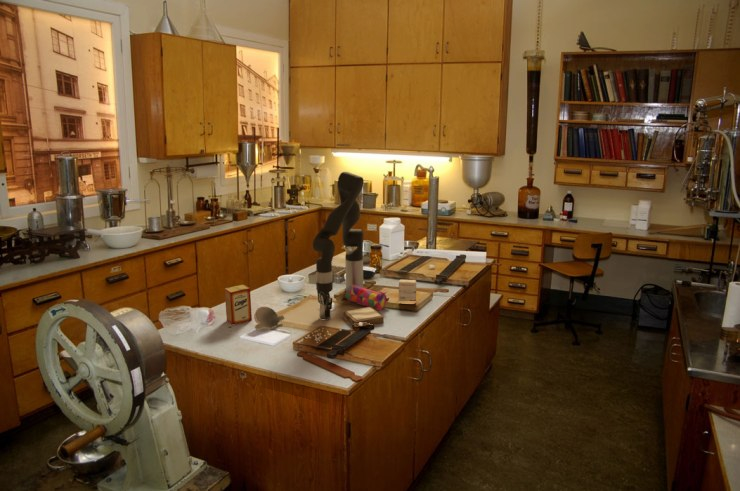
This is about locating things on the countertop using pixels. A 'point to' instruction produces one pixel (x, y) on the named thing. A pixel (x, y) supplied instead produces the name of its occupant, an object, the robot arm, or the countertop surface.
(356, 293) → the pencil case
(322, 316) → the weight
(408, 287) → the ink box
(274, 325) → the grey-brown rounded piece
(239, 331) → the countertop surface
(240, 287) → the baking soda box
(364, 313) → the tray
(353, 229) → the robot arm
